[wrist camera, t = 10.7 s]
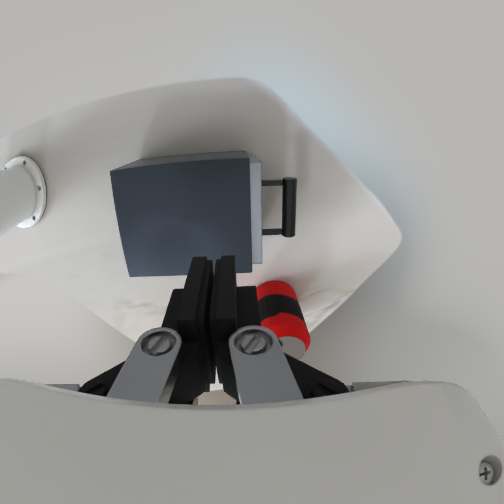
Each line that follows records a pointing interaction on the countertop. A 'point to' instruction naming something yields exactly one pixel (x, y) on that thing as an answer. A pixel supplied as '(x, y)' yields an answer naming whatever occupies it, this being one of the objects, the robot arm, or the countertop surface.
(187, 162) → the cabinet
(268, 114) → the countertop surface
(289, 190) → the drawer
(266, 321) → the soda can
